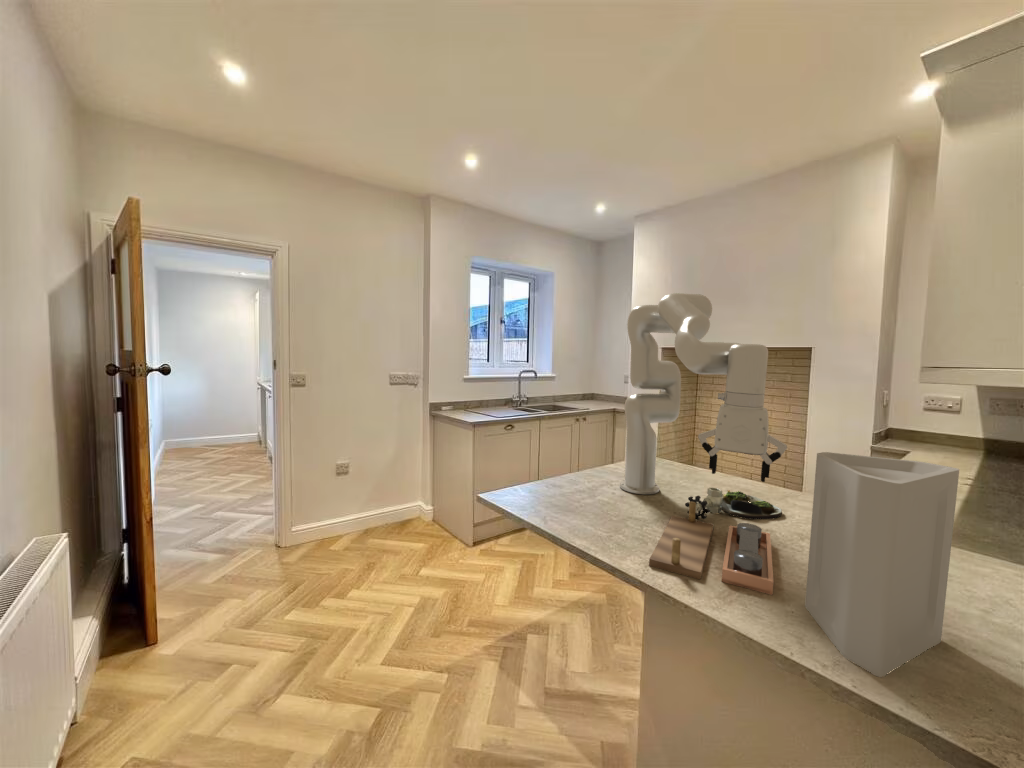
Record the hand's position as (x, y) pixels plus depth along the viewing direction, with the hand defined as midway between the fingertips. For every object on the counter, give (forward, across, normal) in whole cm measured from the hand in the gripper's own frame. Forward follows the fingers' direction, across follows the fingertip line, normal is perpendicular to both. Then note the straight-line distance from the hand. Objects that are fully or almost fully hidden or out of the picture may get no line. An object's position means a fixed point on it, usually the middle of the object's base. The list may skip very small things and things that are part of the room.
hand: (737, 476), depth 93 cm
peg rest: (+18, -10, -3) cm, 21 cm away
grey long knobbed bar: (+17, +3, -3) cm, 18 cm away
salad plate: (+19, +2, +32) cm, 38 cm away
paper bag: (+17, +19, -19) cm, 32 cm away
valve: (+19, -7, +22) cm, 29 cm away
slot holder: (+18, +3, -3) cm, 18 cm away
